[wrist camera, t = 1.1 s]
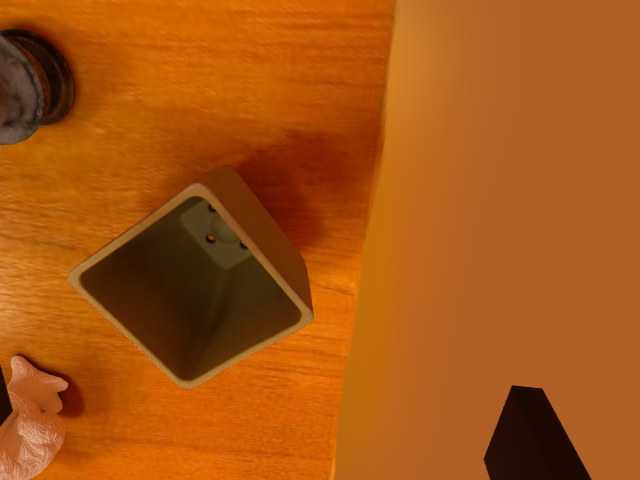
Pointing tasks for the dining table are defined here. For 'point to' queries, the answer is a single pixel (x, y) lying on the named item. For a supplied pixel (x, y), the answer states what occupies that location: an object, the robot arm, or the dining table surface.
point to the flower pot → (200, 280)
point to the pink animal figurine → (31, 422)
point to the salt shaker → (31, 85)
